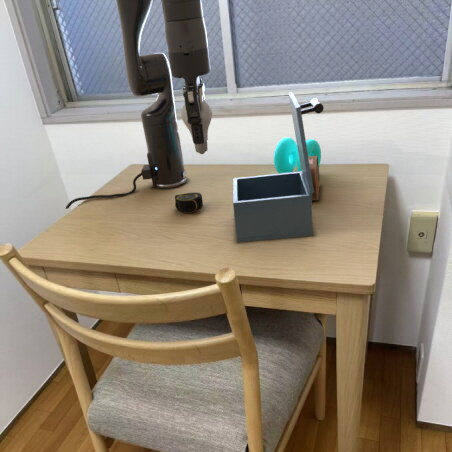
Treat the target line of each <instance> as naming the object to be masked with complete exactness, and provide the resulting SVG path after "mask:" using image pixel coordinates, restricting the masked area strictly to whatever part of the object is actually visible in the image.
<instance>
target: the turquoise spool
mask: <svg viewBox="0 0 452 452" xmlns="http://www.w3.org/2000/svg"><path fill="white" fill-rule="evenodd" d="M306 146H307V152H308V157H310V156H316V155H317V156H318V165H319V166H320V165H321V161H322V151H321V150H322V149H321V146H320V143H319V142H318V141H317V140H316V139H313V138H309V139H306ZM273 166H274V168H275V171H276V173H277V174H280V173H290V172H294V170H295V169H296V170H297V172H300V171H302V170H301V165H300V159H299V153H298V147H297V142H296V141H295V140H294V139H293V138H292V137H289V136H287V137H284V138H282V139H280V140H279V142H278V143H277V145H276V147H275V150H274V153H273Z"/></svg>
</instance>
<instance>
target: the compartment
mask: <svg viewBox="0 0 452 452" xmlns="http://www.w3.org/2000/svg"><path fill="white" fill-rule="evenodd" d="M232 192H233V193H232V206H233V214H234V224H235V234H236V235H235V236H236V241H237V243H247V242H259V241H267V240H268V241H270V240H279V239H280V240H281V239H289V238H290V239H291V238H300V237H301V238H302V237H311V236H313V200H312V194H311V193H310V192H309V189H308V187H307V184H306V181H305V178H304V176H303V173H302V171H300V172H298V171H292V172H290V173H280V174H279V173H271V174H262V175H254V176H253V175H251V176H243V177H234V178H232Z"/></svg>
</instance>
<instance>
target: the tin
mask: <svg viewBox="0 0 452 452" xmlns="http://www.w3.org/2000/svg"><path fill="white" fill-rule="evenodd" d="M308 158H309V165H310V171H311V177H312V184H313V190H314V193H311V194H312V201H319V195H320V183H321V182H320V165H318V156H317V155H316V156H310V157H308Z"/></svg>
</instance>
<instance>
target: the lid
mask: <svg viewBox="0 0 452 452" xmlns="http://www.w3.org/2000/svg"><path fill="white" fill-rule="evenodd" d="M287 93H288V99H289V100H288V101H289V105H290V111H291V117H292V124H293V128H294V136H295V140H296V141H295V142H296V144H297V147H298V153H299V159H300V165H301V170H302V173H303V176H304V178H305V181H306V184H307V187H308V189H309V192H310V193H314V190H313V184H312V177H311V171H310V165H309V158H308V152H307V146H306V140H307V139H306V135H305V133H306V132H305V128H304V127H305V126H304V121H303V115H305V114H310V113H315V114H321V113H322V112H323V111H324V108H325V107H324V105H323V103H322V102H321V101H320V100H319V98H317V97H313V98H311V100H310V102H309V101H308V102H305V103H301V104H300V103H299V102H298V99H297V98H296V96H295V94H294V93H293V91H289V92H287Z"/></svg>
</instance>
